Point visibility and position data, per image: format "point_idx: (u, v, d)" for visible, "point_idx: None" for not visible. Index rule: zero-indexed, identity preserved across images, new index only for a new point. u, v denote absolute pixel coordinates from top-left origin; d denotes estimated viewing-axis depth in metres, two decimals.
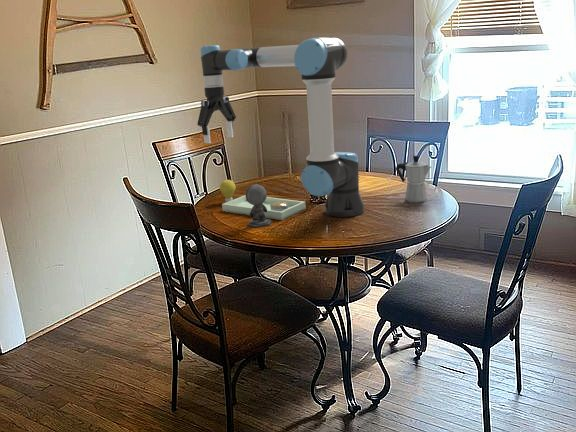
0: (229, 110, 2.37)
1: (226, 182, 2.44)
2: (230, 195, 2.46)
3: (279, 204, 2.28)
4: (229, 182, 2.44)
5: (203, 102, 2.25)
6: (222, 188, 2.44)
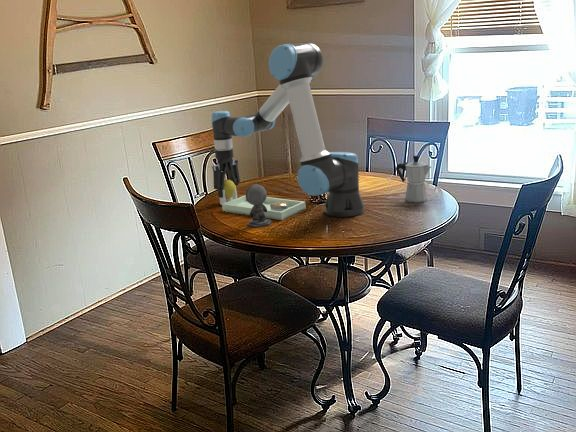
0: (235, 173, 2.49)
1: (226, 182, 2.44)
2: (230, 195, 2.46)
3: (279, 204, 2.28)
4: (229, 182, 2.44)
5: (214, 168, 2.39)
6: None
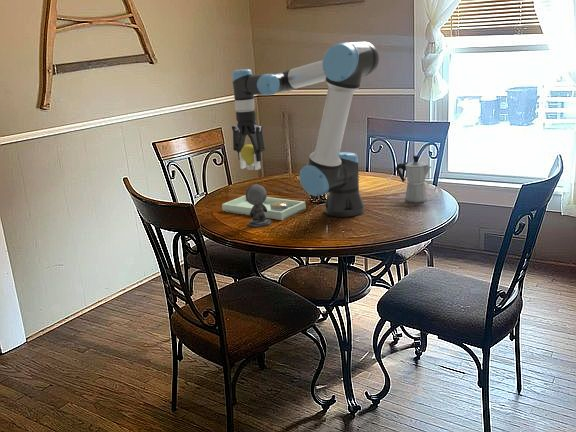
0: None
1: (243, 146, 2.30)
2: (245, 161, 2.30)
3: (279, 204, 2.28)
4: (244, 147, 2.29)
5: None
6: None
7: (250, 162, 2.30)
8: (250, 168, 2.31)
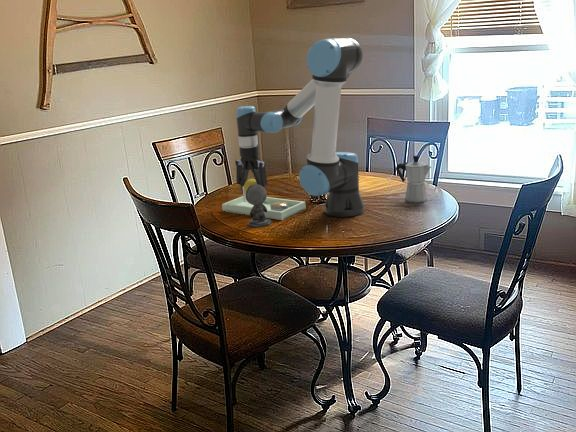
0: None
1: (247, 180, 2.34)
2: None
3: (279, 204, 2.28)
4: (247, 181, 2.32)
5: None
6: None
7: None
8: None
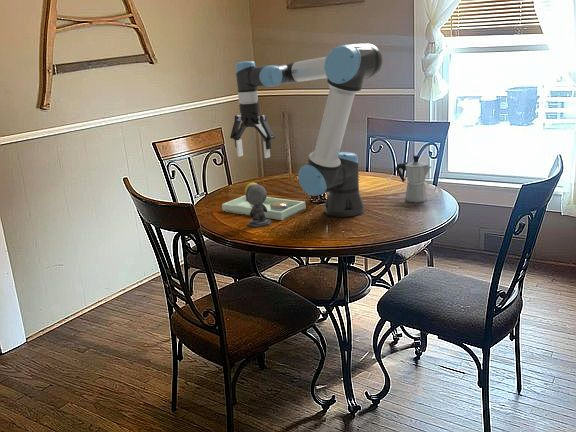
0: None
1: (248, 184, 2.34)
2: None
3: (279, 204, 2.28)
4: (248, 185, 2.33)
5: None
6: None
7: None
8: None
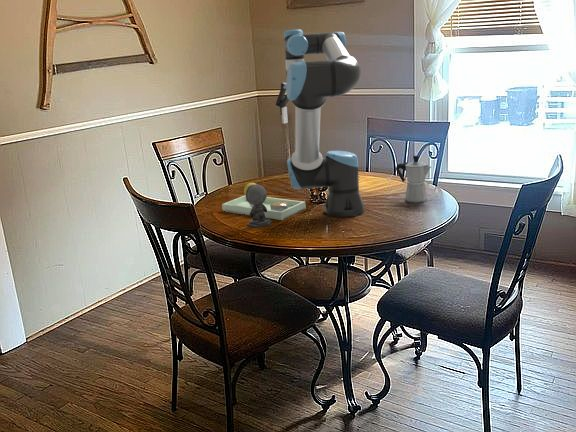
0: None
1: (247, 184, 2.34)
2: None
3: (279, 204, 2.28)
4: (247, 185, 2.33)
5: None
6: None
7: None
8: None
